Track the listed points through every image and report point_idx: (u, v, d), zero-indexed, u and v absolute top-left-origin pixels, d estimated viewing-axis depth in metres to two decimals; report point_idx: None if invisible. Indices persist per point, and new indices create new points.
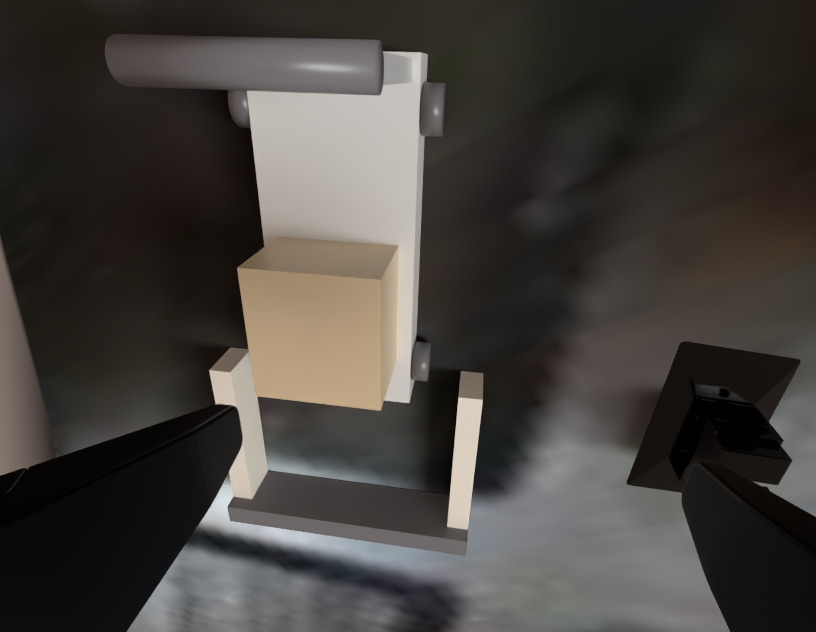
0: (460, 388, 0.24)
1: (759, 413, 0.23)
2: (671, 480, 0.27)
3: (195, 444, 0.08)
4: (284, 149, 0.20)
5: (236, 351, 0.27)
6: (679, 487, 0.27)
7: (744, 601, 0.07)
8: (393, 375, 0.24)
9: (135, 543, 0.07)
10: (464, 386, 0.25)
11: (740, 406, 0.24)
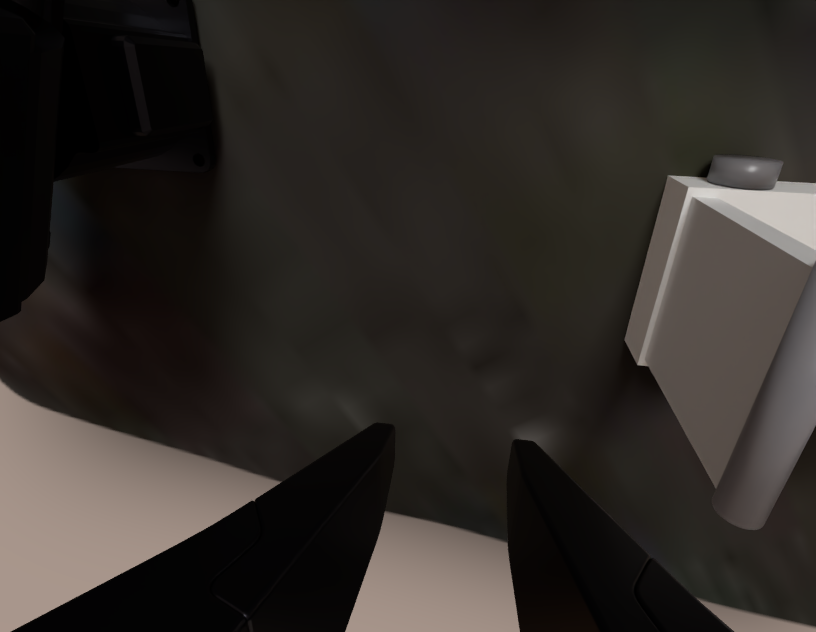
0: None
1: None
2: None
3: (379, 468, 0.08)
4: None
5: None
6: None
7: (520, 567, 0.08)
8: None
9: (344, 576, 0.07)
10: None
11: None
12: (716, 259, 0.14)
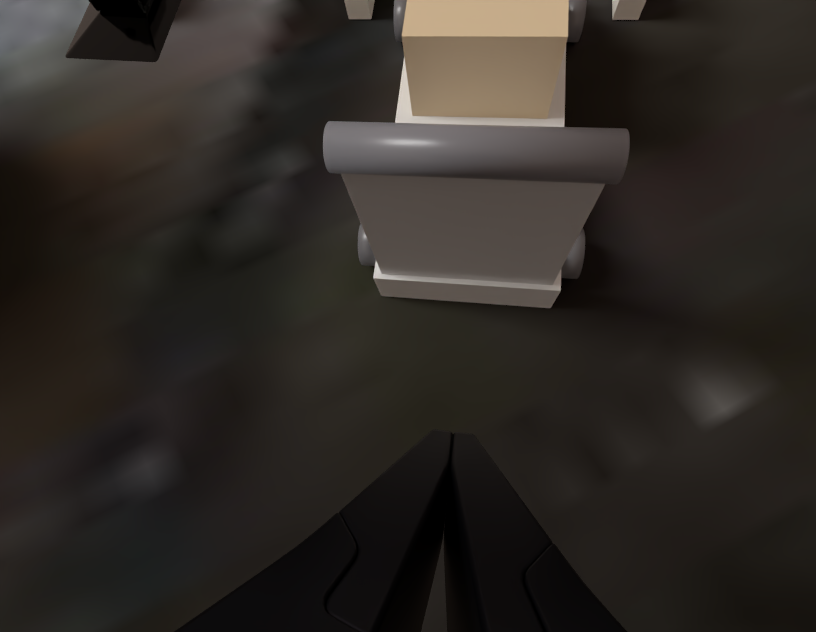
0: None
1: (91, 1, 0.26)
2: None
3: (447, 477, 0.08)
4: None
5: (629, 13, 0.23)
6: None
7: (448, 556, 0.08)
8: None
9: (422, 589, 0.07)
10: None
11: (107, 7, 0.26)
12: (404, 243, 0.16)
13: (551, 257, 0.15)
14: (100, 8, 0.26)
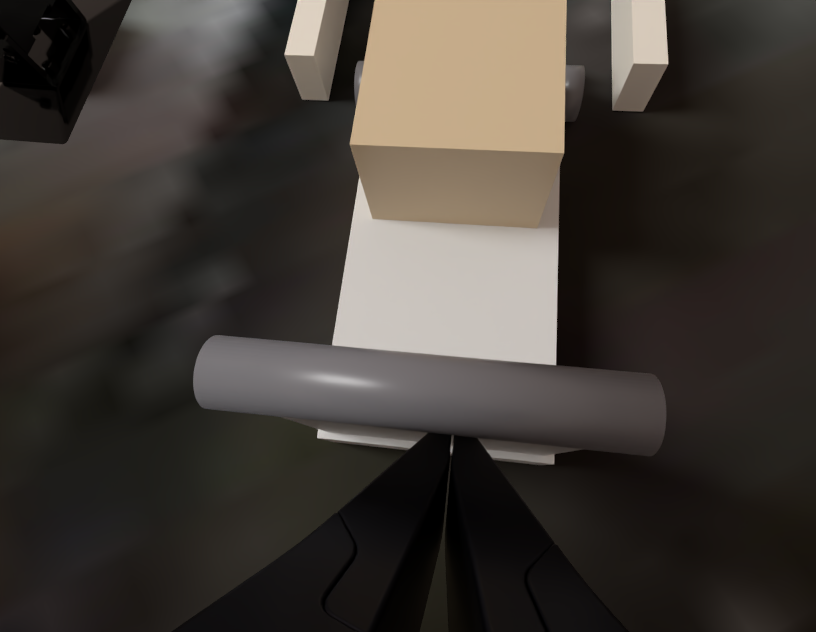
0: (317, 71, 0.20)
1: None
2: None
3: (446, 477, 0.08)
4: (511, 335, 0.15)
5: (632, 104, 0.19)
6: None
7: (449, 556, 0.08)
8: None
9: (421, 589, 0.07)
10: (314, 74, 0.20)
11: (9, 79, 0.22)
12: (347, 428, 0.12)
13: (542, 450, 0.12)
14: (2, 79, 0.22)
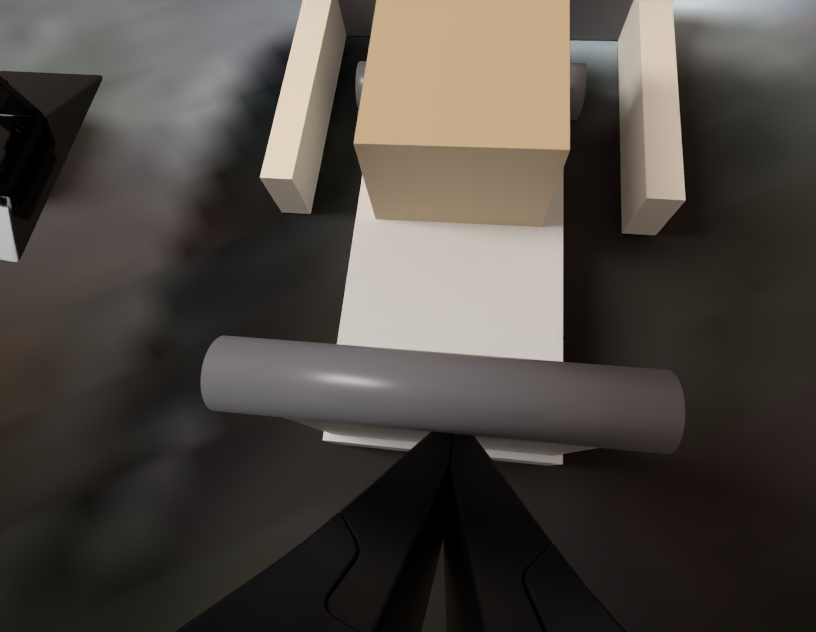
0: (296, 191, 0.18)
1: None
2: (50, 88, 0.23)
3: (447, 477, 0.08)
4: (517, 335, 0.15)
5: (644, 229, 0.17)
6: (43, 80, 0.23)
7: (447, 556, 0.08)
8: None
9: (422, 589, 0.07)
10: (293, 193, 0.18)
11: None
12: (354, 429, 0.12)
13: (552, 450, 0.11)
14: None
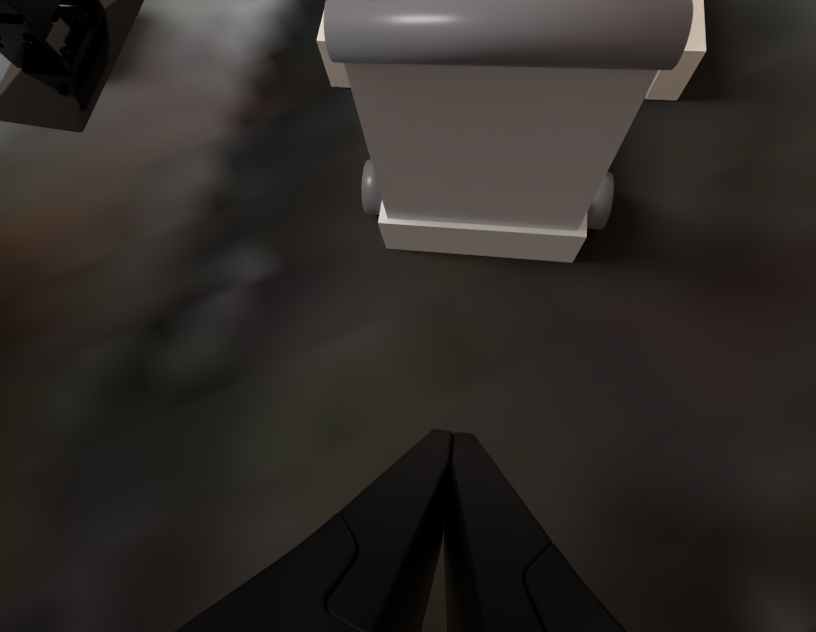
0: None
1: (8, 58, 0.22)
2: None
3: (447, 477, 0.08)
4: None
5: (666, 93, 0.19)
6: None
7: (448, 556, 0.08)
8: None
9: (422, 589, 0.07)
10: None
11: (28, 65, 0.22)
12: (414, 172, 0.14)
13: (580, 189, 0.14)
14: (21, 65, 0.23)
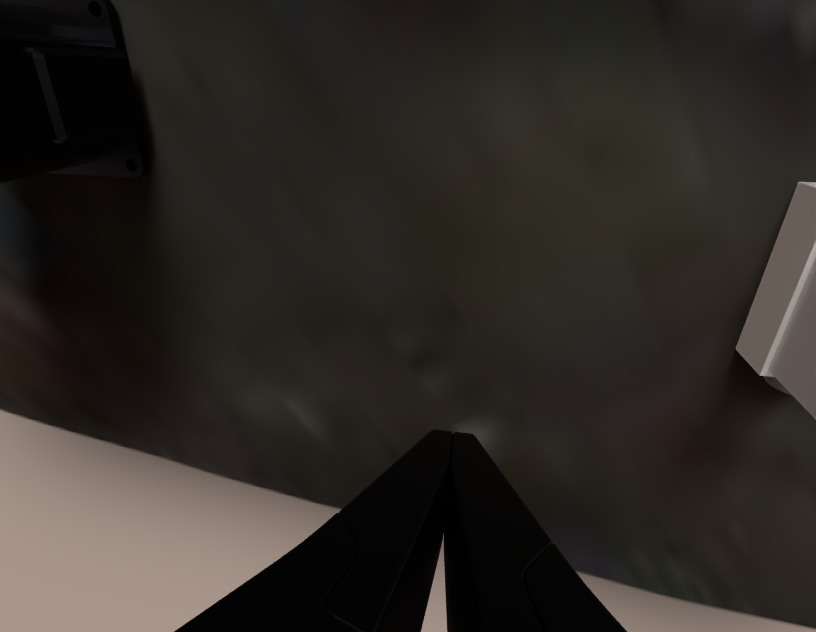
0: None
1: None
2: None
3: (447, 477, 0.08)
4: None
5: None
6: None
7: (448, 556, 0.08)
8: None
9: (422, 589, 0.07)
10: None
11: None
12: None
13: (810, 397, 0.16)
14: None
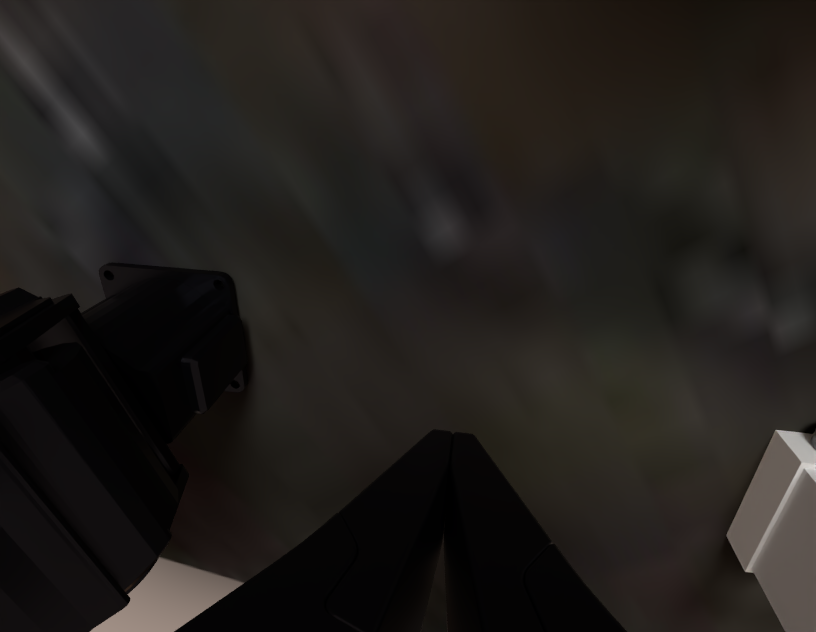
0: None
1: None
2: None
3: (447, 477, 0.08)
4: None
5: None
6: None
7: (448, 556, 0.08)
8: None
9: (422, 589, 0.07)
10: None
11: None
12: None
13: (782, 612, 0.21)
14: None
